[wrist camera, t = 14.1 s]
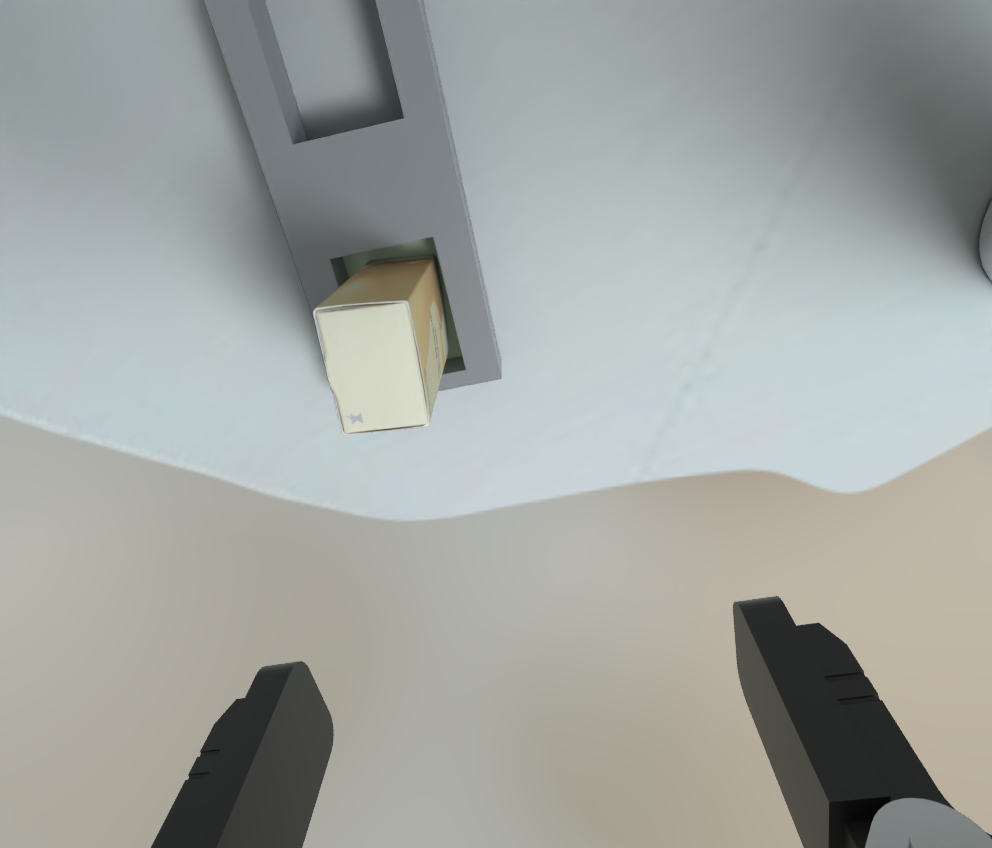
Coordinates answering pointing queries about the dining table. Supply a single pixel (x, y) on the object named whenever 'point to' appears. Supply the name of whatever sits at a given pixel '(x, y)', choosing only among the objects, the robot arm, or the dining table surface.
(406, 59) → the panel
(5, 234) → the dining table surface
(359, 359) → the skincare box
